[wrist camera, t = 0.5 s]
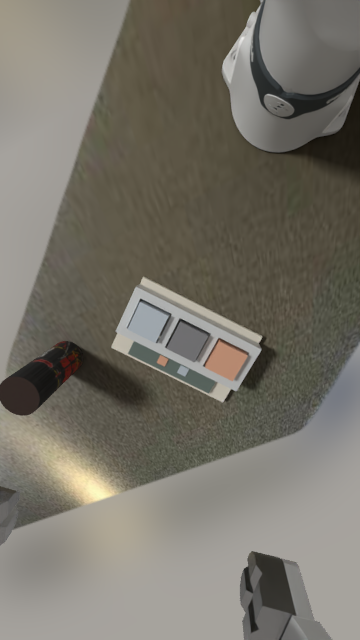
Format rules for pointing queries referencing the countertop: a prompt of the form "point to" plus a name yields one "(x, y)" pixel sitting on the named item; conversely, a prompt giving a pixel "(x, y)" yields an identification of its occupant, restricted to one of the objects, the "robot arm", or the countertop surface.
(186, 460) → the countertop surface
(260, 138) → the robot arm
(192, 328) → the key charcoal
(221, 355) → the key terracotta
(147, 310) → the key blue
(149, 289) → the keypad
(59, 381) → the deodorant
